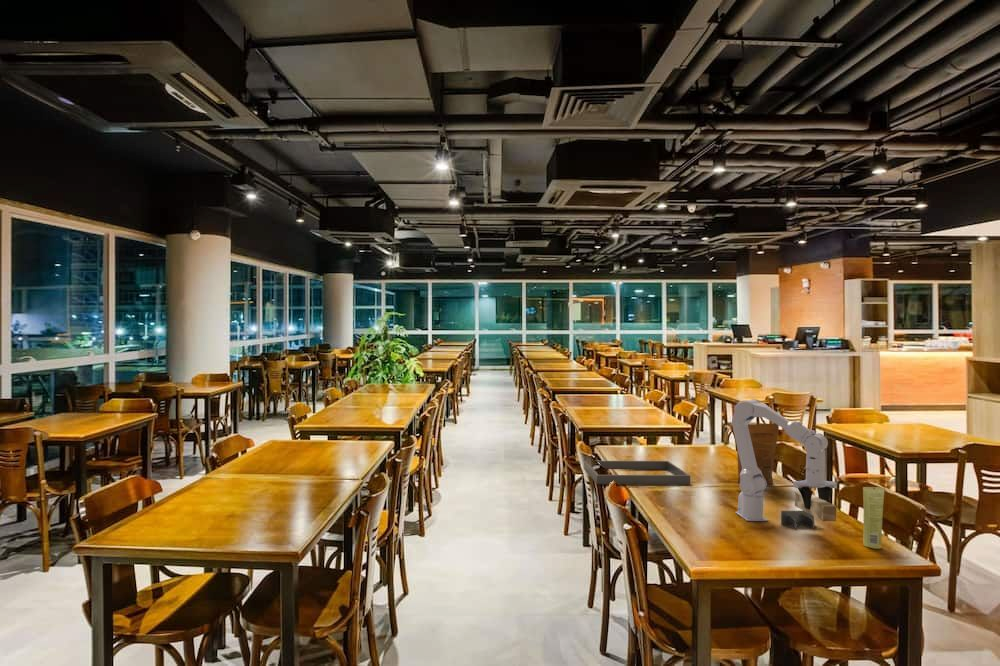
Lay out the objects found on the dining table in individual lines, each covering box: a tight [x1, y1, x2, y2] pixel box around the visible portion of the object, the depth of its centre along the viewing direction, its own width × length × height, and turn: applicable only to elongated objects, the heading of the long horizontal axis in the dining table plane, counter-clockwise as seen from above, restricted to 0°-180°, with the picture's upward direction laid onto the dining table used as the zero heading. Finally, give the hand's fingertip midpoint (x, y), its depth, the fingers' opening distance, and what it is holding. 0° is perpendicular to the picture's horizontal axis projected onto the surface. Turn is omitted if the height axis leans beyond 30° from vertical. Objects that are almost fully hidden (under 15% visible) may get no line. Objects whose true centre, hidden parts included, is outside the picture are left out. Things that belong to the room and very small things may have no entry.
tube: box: [862, 486, 885, 550], centre depth 185 cm, size 6×5×20 cm
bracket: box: [780, 510, 815, 530], centre depth 202 cm, size 5×12×5 cm, turn 93°
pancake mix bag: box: [736, 423, 780, 486], centre depth 258 cm, size 7×19×28 cm, turn 88°
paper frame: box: [583, 460, 691, 485], centre depth 268 cm, size 28×43×4 cm, turn 93°
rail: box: [794, 491, 837, 522], centre depth 194 cm, size 16×4×5 cm, turn 3°
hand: (814, 508), depth 195 cm, fingers closed on rail, 4 cm apart
